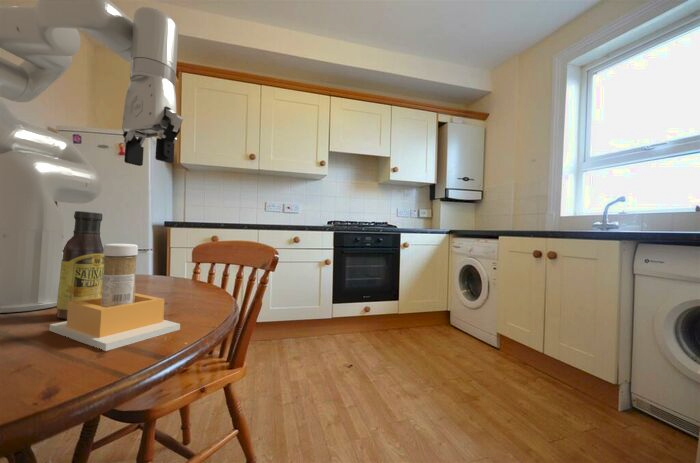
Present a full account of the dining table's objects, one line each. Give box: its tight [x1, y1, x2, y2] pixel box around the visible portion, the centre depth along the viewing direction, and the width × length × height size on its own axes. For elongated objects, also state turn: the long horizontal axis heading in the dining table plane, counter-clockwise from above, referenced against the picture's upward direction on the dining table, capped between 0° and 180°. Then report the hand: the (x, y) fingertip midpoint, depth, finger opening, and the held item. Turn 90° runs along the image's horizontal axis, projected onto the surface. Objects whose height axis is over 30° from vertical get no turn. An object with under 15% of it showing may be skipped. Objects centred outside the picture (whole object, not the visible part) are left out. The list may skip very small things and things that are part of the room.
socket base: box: [49, 292, 181, 352], centre depth 49 cm, size 16×11×5 cm
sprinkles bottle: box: [101, 243, 139, 308], centre depth 49 cm, size 5×5×13 cm
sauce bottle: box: [56, 210, 104, 320], centre depth 56 cm, size 7×6×20 cm
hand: (148, 162), depth 58 cm, fingers open, 9 cm apart
